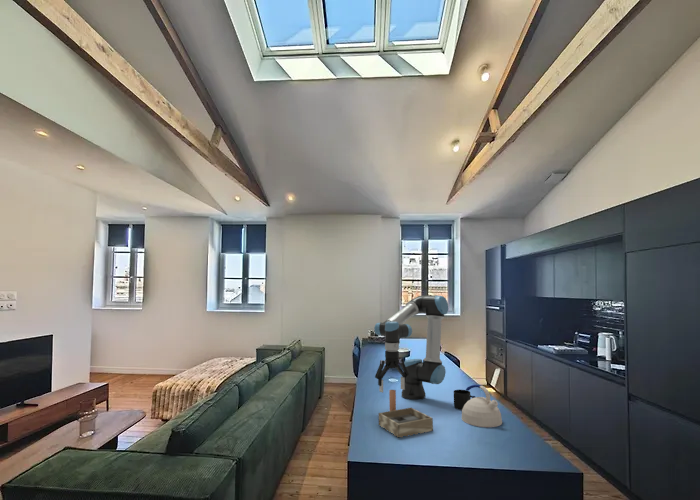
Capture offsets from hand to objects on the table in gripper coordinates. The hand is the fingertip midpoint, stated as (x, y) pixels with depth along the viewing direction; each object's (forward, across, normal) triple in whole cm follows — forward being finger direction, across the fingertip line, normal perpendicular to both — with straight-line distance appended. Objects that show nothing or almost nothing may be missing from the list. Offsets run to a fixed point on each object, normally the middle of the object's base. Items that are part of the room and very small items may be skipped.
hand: (392, 390), depth 205 cm
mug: (+14, +46, -5) cm, 49 cm away
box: (+14, -2, -16) cm, 21 cm away
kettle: (+14, +40, -25) cm, 49 cm away
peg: (+14, 0, 0) cm, 14 cm away
